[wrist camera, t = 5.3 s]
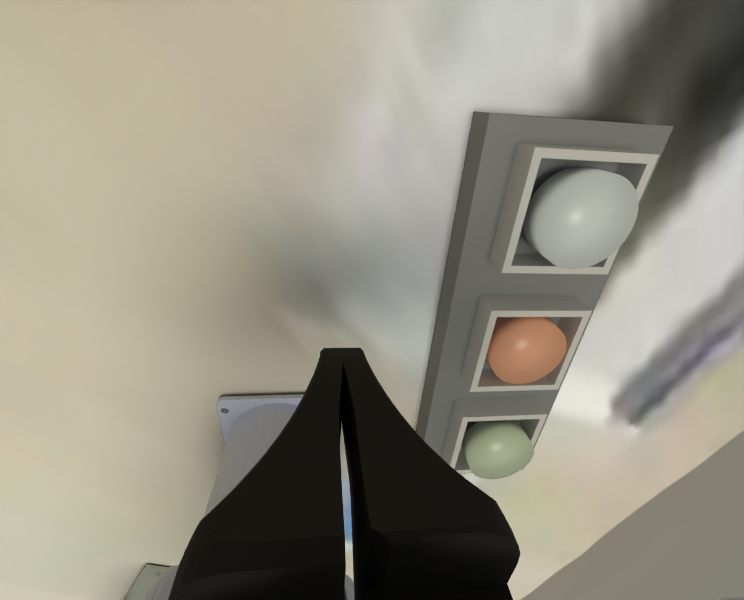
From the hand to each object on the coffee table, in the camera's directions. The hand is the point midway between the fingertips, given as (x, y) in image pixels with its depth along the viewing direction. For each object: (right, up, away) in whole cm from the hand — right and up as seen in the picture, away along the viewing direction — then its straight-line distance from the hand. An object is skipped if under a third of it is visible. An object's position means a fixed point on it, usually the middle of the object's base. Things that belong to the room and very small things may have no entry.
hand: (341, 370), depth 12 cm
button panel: (+10, +1, +11) cm, 15 cm away
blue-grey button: (+10, +7, +5) cm, 13 cm away
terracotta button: (+10, 0, +10) cm, 14 cm away
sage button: (+9, -7, +13) cm, 17 cm away
